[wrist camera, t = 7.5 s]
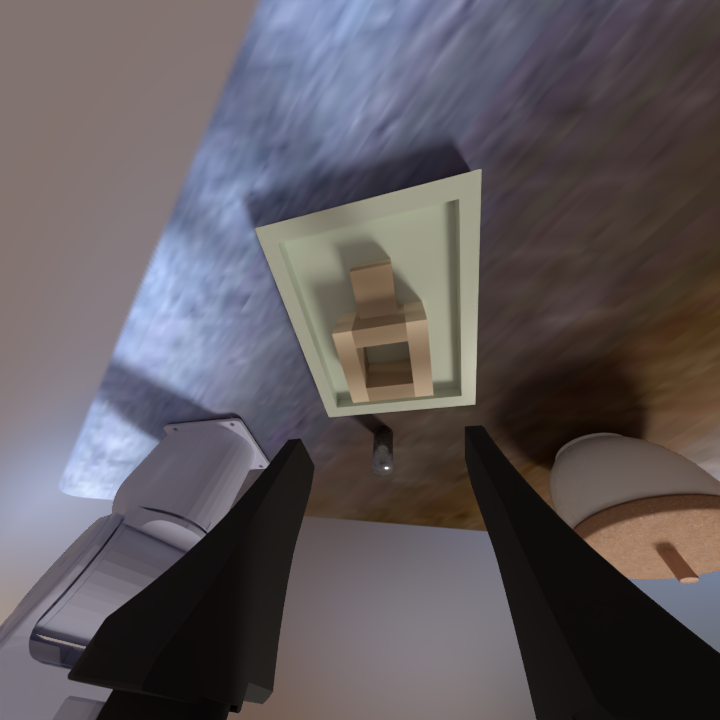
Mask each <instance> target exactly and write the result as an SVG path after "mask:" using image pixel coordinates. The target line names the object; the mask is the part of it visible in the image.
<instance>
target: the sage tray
mask: <svg viewBox="0 0 720 720" xmlns="http://www.w3.org/2000/svg"><path fill="white" fill-rule="evenodd" d="M480 206H481V169H479V170H475V171H471V172H467V173H464V174H460V175H456V176H452V177H448V178H445V179H441V180H437V181H433V182H429V183H426V184H422V185H418V186H414V187H410V188H407V189H403V190H399V191H395V192H391V193H388V194H384V195H380V196H376V197H372V198H368V199H365V200H361V201H357V202H353V203H349V204H346V205H342V206H338V207H334V208H330V209H327V210H323V211H319V212H315V213H311V214H308V215H304V216H300V217H296V218H292V219H288V220H285V221H281V222H277V223H273V224H269V225H266V226H262V227H258V228H255V231H256V233H257V236H258V238H259V241H260V243H261V246H262V248H263V251H264V253H265V256H266V259H267V261H268V264H269V266H270V269H271V271H272V274H273V276H274V279H275V281H276V284H277V287H278V289H279V292H280V294H281V297H282V299H283V302H284V304H285V307H286V309H287V312H288V314H289V317H290V320H291V322H292V325H293V327H294V330H295V332H296V335H297V337H298V340H299V342H300V345H301V347H302V350H303V353H304V355H305V358H306V360H307V363H308V365H309V368H310V370H311V373H312V375H313V378H314V380H315V383H316V386H317V388H318V391H319V393H320V396H321V398H322V401H323V403H324V406H325V408H326V411H327V413H328V416H329V417H337V416H348V415H360V414H371V413H383V412H394V411H406V410H417V409H428V408H440V407H451V406H463V405H474V404H475V394H476V356H477V319H478V281H479V244H480ZM389 258H391V264H392V271H393V278H394V285H395V292H396V299H397V305H398V304H404V303H410V302H416V301H422V303H423V306H424V310H425V313H426V317H427V321H428V333H429V346H430V358H431V370H432V382H433V394H434V395H431V396H421V397H410V398H400V399H389V400H379V401H368V402H357V403H353V401H352V398H351V394H350V391H349V388H348V385H347V381H346V378H345V375H344V372H343V368H342V365H341V362H340V359H339V355H338V352H337V349H336V346H335V342H334V339H333V336H332V333H333V330H334V328H335V326H336V323H337V321H338V318H339V316H340V314H345V313H351V312H357V311H358V308H357V303H356V299H355V295H354V290H353V286H352V282H351V278H350V273H349V272H350V270H351V268H352V266H355V265H360V264H365V263H369V262H374V261H379V260H384V259H389ZM365 348H366V353H367V357H368V361H369V364H371V363H379V362H387V361H395V360H403V359H410V352H409V344H408V341H405V342H398V343H390V344H383V345H376V346H369V347H365Z"/></svg>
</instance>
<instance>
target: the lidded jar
mask: <svg viewBox="0 0 720 720" xmlns="http://www.w3.org/2000/svg"><path fill="white" fill-rule="evenodd" d="M549 491H550V496H551V499H552V503H553V506H554V509H555V512H556V513H557V515H558V516H559V517H560V518H562V519H563V520H564V521H565V522H566V523H567V524H568V525H569V526H570V527H571V528H572V529H573V530H574V531H575V532H576V533H577V534H578V535H579V536H580V537H581V538H582V539H583V540H585V541H586V542H587V543H588V544H589V545H590V546H591V547H592V548H593V549H594V550H595V551H596V552H598V553H599V554H600V555H601V556H602V557H603V558H604V559H606V560H607V561H608V562H609V563H610V564H611V565H613V566H614V567H615V568H616V569H617V570H618V571H619V572H621V573H622V574H623V575H624V576H625V577H626V578H635V579H664V578H665V579H666V578H677V579H678V581H679V582H681V583H694V582H698V581H699V580H700V579H699V577H698V576H697V575H700V574H704V573H710V572H714V571H718V570H720V482H719V481H718V480H717V479H716V478H714V477H713V476H712V475H710V474H709V473H708V472H706V471H705V470H703V469H702V468H701V467H699V466H698V465H696V464H695V463H693V462H692V461H690V460H688V459H687V458H685V457H683V456H682V455H680V454H678V453H676V452H674V451H671V450H669V449H667V448H665V447H663V446H661V445H658V444H655V443H652V442H649V441H645V440H642V439H637V438H631V437H624V436H622V435H620V434H616V433H607V432H603V433H593V434H588V435H584V436H581V437H578V438H576V439H573V440H571V441H570V442H568V443H566V444H565V445H564V446H562V447H561V448H560V449H559V451H558V452H557V454H556V456H555V462H554V464H553V466H552V469H551V472H550V477H549Z"/></svg>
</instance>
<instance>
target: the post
mask: <svg viewBox="0 0 720 720" xmlns="http://www.w3.org/2000/svg"><path fill="white" fill-rule="evenodd" d="M372 470H373V472H374V473H376V474H378V475H383V476H385V475H389V474H391V473H392V472H393V432H392V430H391V429H390V428H388V427H384V426H382V427H378V428H376V429H375V432H374V446H373V461H372Z"/></svg>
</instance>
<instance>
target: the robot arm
mask: <svg viewBox="0 0 720 720" xmlns="http://www.w3.org/2000/svg"><path fill="white" fill-rule="evenodd" d="M163 429H164V431H165V432H166V433H167V435H166V436H165V437H164V439H163V440H162V441H161V442H160V443H159V444H158V445H157V446H156V447H155V448H154V449H153V450H152V451H151V453H150V454H149V455H148V456H147V457H146V458H145V459H144V460H143V461H142V462H141V463H140V464H139V465H138V467H137V468H136V469H135V470H134V471H133V472H132V473H131V474H130V475H129V476H128V477H127V478H126V479H125V481H124V482H123V483H122V485H121V486H120V488H119V489H118V491H117V493H116V496H115V498H114V502H113V506H112V514H110V515H107V516H104V517H101V518H99V519H98V520H96V521H95V522H94V523H93V524H92V525H91V526H90V527H89V528H88V529H87V530H86V531H85V532H84V533H83V534H82V535H81V536H80V537H79V538H78V539H77V540H76V541H75V542H74V543H73V544H72V545H71V546H70V547H69V548H68V549H67V550H66V551H65V552H64V553H63V554H62V555H61V557H59V559H58V560H57V561H56V562H55V563H54V564H53V565H52V566H51V567H50V568H49V569H48V571H47V572H46V573H45V574H44V575H43V576H42V577H41V578H40V579H39V581H38V582H37V583H36V584H35V585H34V586H33V588H32V589H31V590H30V591H29V592H28V593H27V595H26V596H25V597H24V598H23V599H22V601H21V602H20V603H19V605H18V606H17V607H16V609H15V610H14V611H13V613H12V614H11V615H10V616H9V617H8V618H7V619H6V620H5V621H4V623H3V624H2V625H1V626H0V720H226V719H227V716H228V713H229V712H235V713H239V712H240V710H241V707H242V704H243V701H247V702H254V703H260V704H263V703H264V702H265V701H266V700H267V699H268V698H269V697H270V695H271V694H272V692H273V686H274V675H275V668H276V658H277V651H278V642H279V635H280V628H281V621H282V615H283V607H284V602H285V596H286V590H287V583H288V579H289V573H290V568H291V563H292V558H293V553H294V549H295V545H296V541H297V537H298V534H299V530H300V527H301V523H302V520H303V516H304V513H305V509H306V505H307V502H308V498H309V494H310V491H311V486H312V480H313V473H314V464H313V462H312V460H311V458H310V456H309V454H308V452H307V450H306V448H305V446H304V444H303V443H302V441H301V439H291V440H288V441H287V442H286V444H285V445H284V446H283V447H282V449H281V450H280V451H279V452H278V454H277V455H276V456H275V457H274V459H273V460H272V461H271V463H269V461H268V460H267V458H266V457H265V455H264V454H263V452H262V451H261V449H260V448H259V446H258V445H257V443H256V441H255V440H254V438H253V437H252V435H251V434H250V432H249V431H248V429H247V428H246V426H245V425H244V423H243V421H242V420H241V419H239V418H231V419H220V420H210V421H199V422H189V423H178V424H167V425H165V427H164V428H163ZM465 460H466V464H467V469H468V473H469V477H470V481H471V485H472V488H473V491H474V494H475V496H476V499H477V502H478V505H479V508H480V511H481V514H482V517H483V519H484V522H485V525H486V528H487V531H488V534H489V536H490V539H491V542H492V545H493V548H494V552H495V555H496V558H497V561H498V565H499V569H500V573H501V577H502V581H503V584H504V588H505V592H506V596H507V599H508V604H509V607H510V612H511V615H512V619H513V623H514V627H515V631H516V635H517V639H518V644H519V648H520V651H521V655H522V660H523V664H524V668H525V672H526V676H527V681H528V685H529V689H530V694H531V698H532V702H533V706H534V711H535V715H536V719H537V720H720V653H719V652H717V651H716V650H715V649H713V648H712V647H711V646H710V645H708V644H707V643H706V642H704V641H703V640H702V639H700V638H699V637H698V636H697V635H696V634H694V633H693V632H692V631H691V630H689V629H688V628H687V627H686V626H684V625H683V624H682V623H680V622H679V621H678V620H677V619H675V618H674V617H673V616H672V615H670V614H669V613H668V612H667V611H666V610H664V609H663V608H662V607H661V606H660V605H658V604H657V603H656V602H655V601H654V600H652V599H651V598H650V597H649V596H647V595H646V594H645V593H643V592H642V591H641V590H640V589H639V588H638V587H637V586H636V585H634V584H633V583H632V582H631V581H630V580H628V579H627V578H626V577H625V576H624V575H623V574H622V573H621V572H619V571H618V570H617V569H616V568H615V567H614V566H613V565H611V564H610V563H609V562H608V561H607V560H606V559H604V558H603V557H602V556H601V555H600V554H599V553H598V552H596V551H595V550H594V549H593V548H592V547H591V546H590V545H589V544H588V543H587V542H586V541H585V540H583V539H582V538H581V537H580V536H579V535H578V534H577V533H576V532H575V531H574V530H573V529H572V528H571V527H570V526H569V525H568V524H567V523H566V522H565V521H564V520H563V519H562V518H560V517H559V516H558V515H557V513H556V512H555V511H554V510H553V509H552V508H551V507H550V506H549V505H548V504H547V503H546V502H545V501H544V500H543V499H542V498H541V497H540V496H539V495H538V494H537V493H536V492H535V490H534V489H533V488H532V487H531V486H530V485H529V484H528V483H527V482H526V480H525V479H524V478H523V477H522V476H521V475H520V474H519V472H518V471H517V470H516V469H515V468H514V466H513V465H512V464H511V463H510V462H509V460H508V459H507V458H506V457H505V456H504V454H503V453H502V452H501V450H500V449H499V448H498V447H497V445H496V444H495V443H494V441H493V440H492V438H491V437H490V436H489V434H488V433H487V431H486V430H485V428H484V427H483V426H481V425H480V426H467V427H465ZM250 469H265V470H264V471H263V473H262V474H261V475H260V476H259V478H258V479H257V480H256V481H255V482H254V484H253V485H252V486H251V487H250V488H249V490H248V491H247V492H246V493H245V494H244V495H243V496H242V498H241V499H240V500H239V501H238V502H237V503H236V505H235V506H234V507H233V508H232V509H231V510H230V511H229V509H230V507H231V505H232V503H233V501H234V499H235V497H236V495H237V493H238V491H239V489H240V487H241V485H242V484H243V482H244V480H245V478H246V476H247V474H248V472H249V470H250ZM228 511H229V512H228ZM37 634H38V635H42V636H46V637H50V638H54V639H58V640H62V641H66V642H70V643H74V644H78V645H82V646H86V648H85V649H83V648H79V647H75V646H70V645H66V644H63V643H58V642H55V641H50V640H46V639H44V638H42V637H40V636H38V635H37Z"/></svg>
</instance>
